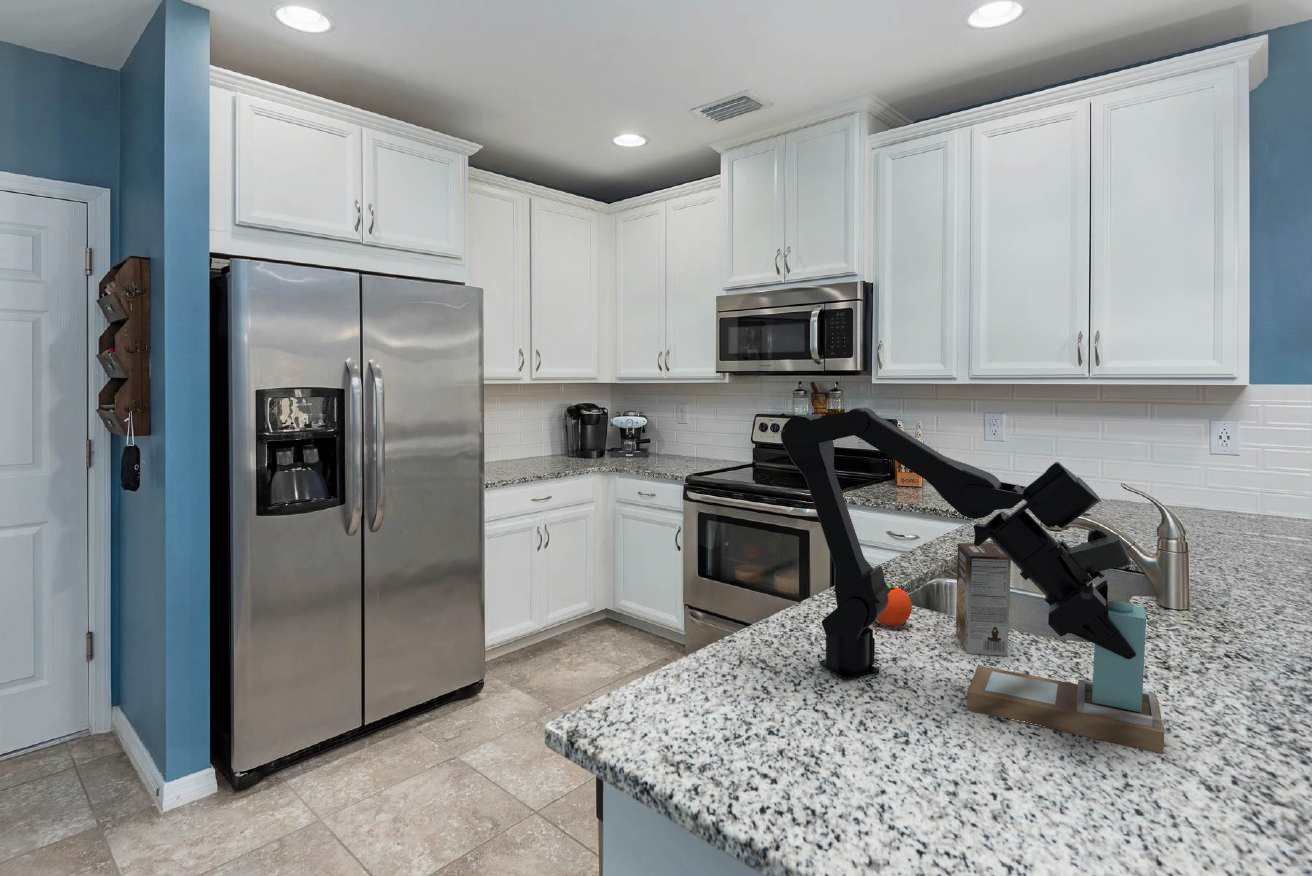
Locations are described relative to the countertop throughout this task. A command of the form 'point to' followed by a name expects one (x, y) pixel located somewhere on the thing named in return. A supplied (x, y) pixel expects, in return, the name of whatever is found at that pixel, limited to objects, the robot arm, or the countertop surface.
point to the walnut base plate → (1065, 708)
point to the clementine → (896, 607)
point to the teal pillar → (1121, 661)
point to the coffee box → (983, 599)
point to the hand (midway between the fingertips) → (1131, 650)
